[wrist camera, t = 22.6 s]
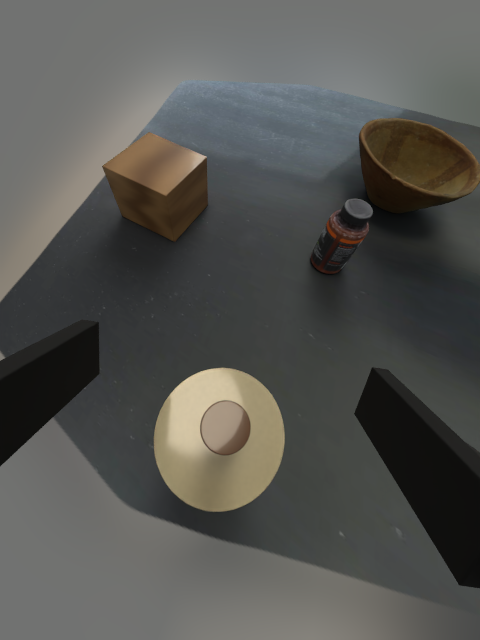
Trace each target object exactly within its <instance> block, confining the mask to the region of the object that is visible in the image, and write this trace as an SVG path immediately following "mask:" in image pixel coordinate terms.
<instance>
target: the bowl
mask: <svg viewBox="0 0 480 640" xmlns="http://www.w3.org/2000/svg"><path fill="white" fill-rule="evenodd" d="M359 146H360V157H361V167H362V174H363V179H364V183H365V187H366V190H367V195H368V197H369V199H370V201H371V202H372V203H373V204H375V205H376V206H378V207H380V208H381V209H384V210H386V211H389V212H392V213H397V214H399V213H405V212H410V211H414V210H419V209H423V208H428V207H431V206H437V205H442V204H445V203H449V202H452V201H455V200H457V199H459V198H462V197H464V196H466V195H468V194H470V193H471V192H472V191H473V190H475V188H476V187H477V185H478V184H479V182H480V165H479V163H478V162H477V160H476V158H475V157H474V155H473V154H472V153H471V152H470V151H469V150H468V149H467V148H466V147H465V146H464V145H463V144H462V143H460V142H459V141H457V140H456V139H454V138H453V137H451V136H450V135H448V134H447V133H446V132H444V131H442V130H441V129H439V128H436V127H433V126H431V125H428V124H424V123H420V122H415V121H412V120H407V119H402V118H389V119H376V120H372V121H369V122H368V123H366V124H365V125H364V126H363V128H362V129H361V131H360V134H359Z"/></svg>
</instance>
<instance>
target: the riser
mask: <svg viewBox="0 0 480 640" xmlns="http://www.w3.org/2000/svg"><path fill="white" fill-rule="evenodd" d="M102 167H103V169H104V172H105V174H106V177H107V179H108V182H109V184H110V187H111V189H112V192H113V194H114V197H115V199H116V202H117V204H118V207H119V209H120V212H121V214H122V216H123V217H125V218H127V219H129V220H131V221H133V222H135V223H137V224H139V225H141V226H143V227H145V228H147V229H149V230H151V231H153V232H155V233H158V234H160V235H162V236H164V237H166V238H168V239H170V240H172V241H174V242H175V241H176V240H177V239H178V238H179V237H180V235H181V234H182V233H183V232H184V231H185V230H186V229H187V228H188V227H189V225H190V224H191V223H192V222H193V221H194V220H195V219H196V218H197V217H198V215H199V214H200V213H201V212H202V211H203V210H204V209H205V208H206V207H207V205H208V194H207V157H205V156H203V155H201V154H198V153H196V152H194V151H191V150H189V149H187V148H184V147H182V146H180V145H178V144H175V143H173V142H171V141H168V140H166V139H164V138H161V137H159V136H157V135H154V134H152V133H150V132H149V133H147V134H146V135H144V136H143V137H142V138H140V139H139V140H138V141H136V142H135V143H133V144H132V145H131V146H129V147H128V148H126V149H125V150H124V151H122V152H121V153H120V154H118V155H117V156H115V157H114V158H113V159H111V160H110V161H108V162H107V163H106V164H104V165H103V166H102Z"/></svg>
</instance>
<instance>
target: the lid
mask: <svg viewBox="0 0 480 640" xmlns="http://www.w3.org/2000/svg"><path fill="white" fill-rule="evenodd" d="M284 440H285V434H284V425H283V420H282V416H281V413H280V410H279V408H278V405H277V403H276V401H275V400H274V398H273V396H272V395H271V393H270V392H269V391H268V390H267V388H266V387H265V386H264V385H263V384H262V383H260V382H259V381H258V380H256V379H255V378H254V377H252V376H250V375H248V374H246V373H244V372H242V371H238V370H235V369H229V368H214V369H208V370H204V371H201V372H199V373H196V374H194V375H192V376H190V377H189V378H187V379H186V380H184V381H183V382H182V383H180V384H179V385H178V386H177V387H176V388H175V389H174V390H173V391H172V393H171V394H170V395H169V397H168V398H167V399H166V401H165V403H164V405H163V406H162V408H161V411H160V413H159V416H158V418H157V422H156V426H155V433H154V452H155V458H156V462H157V466H158V469H159V471H160V474H161V476H162V478H163V479H164V481H165V483H166V484H167V486H168V487H169V488H170V490H171V491H172V492H173V493H174V494H175V495H176V496H177V497H178V498H179V499H181V500H182V501H184V502H185V503H187V504H188V505H190V506H193V507H195V508H197V509H201V510H204V511H211V512H225V511H230V510H234V509H237V508H240V507H242V506H244V505H246V504H248V503H250V502H251V501H253V500H254V499H255V498H257V497H258V496H259V495H260V494H261V493H262V492H263V491H264V490H265V489H266V488H267V487H268V485H269V484H270V483H271V481H272V480H273V478H274V476H275V474H276V473H277V470H278V468H279V466H280V463H281V459H282V456H283V450H284Z"/></svg>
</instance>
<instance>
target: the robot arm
mask: <svg viewBox="0 0 480 640" xmlns="http://www.w3.org/2000/svg"><path fill="white" fill-rule="evenodd" d="M98 374H99V322H94V321H88V320H80V321H78V322H76V323H74V324H72V325H70V326H68V327H66V328H64V329H62V330H60V331H58V332H56V333H54V334H52V335H50V336H48V337H47V338H45V339H43V340H41V341H39V342H37V343H35V344H33V345H31V346H29V347H27V348H25V349H23V350H21V351H19V352H17V353H15V354H13V355H11V356H9V357H7V358H5V359H3V360H1V361H0V466H1V465H2V464H3V463H4V462H5V461H6V460H8V459H9V458H10V456H12V455H13V454H14V453H15V452H16V451H17V450H18V449H19V448H20V447H21V446H22V445H24V444H25V443H26V442H27V441H28V440H29V439H30V438H31V437H32V436H33V435H34V434H35V433H36V432H37V431H39V429H40V428H42V426H44V425H45V424H46V423H47V422H48V421H49V420H50V419H51V418H52V417H54V416H55V415H56V414H57V413H58V412H59V411H60V410H61V409H62V408H63V407H64V406H65V405H66V404H67V403H68V402H70V401H71V400H72V399H73V398H74V397H75V396H76V395H77V394H78V393H79V392H80V391H81V390H82V389H83V388H85V387H86V386H87V385H88V384H89V383H90V382H91V381H92V380H93V379H94V378H95V377H96V376H97V375H98ZM354 414H355V416H356V417H357V419H358V420H359V422H360V424H361V425H362V427H363V429H364V430H365V432H366V434H367V435H368V437H369V438H370V440H371V442H372V443H373V445H374V447H375V448H376V450H377V452H378V453H379V455H380V456H381V458H382V460H383V461H384V463H385V465H386V466H387V468H388V469H389V471H390V473H391V474H392V476H393V478H394V479H395V481H396V483H397V484H398V486H399V487H400V489H401V491H402V492H403V494H404V496H405V497H406V499H407V501H408V502H409V504H410V505H411V507H412V509H413V510H414V512H415V514H416V515H417V517H418V519H419V520H420V522H421V523H422V525H423V527H424V528H425V530H426V532H427V533H428V535H429V536H430V538H431V540H432V541H433V543H434V545H435V546H436V548H437V550H438V551H439V553H440V554H441V556H442V558H443V559H444V561H445V563H446V564H447V566H448V568H449V569H450V571H451V572H452V574H453V576H454V577H455V579H456V581H457V582H458V584H459V585H461V586H468V587H475V588H480V453H479V452H478V451H477V450H476V449H474V448H473V447H471V446H470V445H468V444H467V443H466V442H464V441H463V440H462V439H461V438H460V437H459V436H458V435H457V434H456V433H455V432H454V431H452V430H451V429H450V428H449V427H448V426H447V425H446V424H445V423H444V422H443V421H442V420H441V419H440V418H439V417H438V416H436V415H435V414H434V413H433V412H432V411H431V410H430V409H429V408H428V407H427V406H426V405H425V404H424V403H423V402H422V401H421V400H419V399H418V398H417V397H416V396H415V395H414V394H413V393H412V392H411V391H410V390H409V389H408V388H407V387H406V386H405V385H403V384H402V383H401V382H400V381H399V380H398V379H397V378H396V377H395V376H394V375H393V374H392V373H391V372H390V371H389V370H386V369H380V368H374V367H372V369H371V372H370V374H369V377H368V380H367V382H366V385H365V387H364V390H363V393H362V395H361V398H360V400H359V403H358V406H357V408H356V411H355V413H354Z"/></svg>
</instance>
